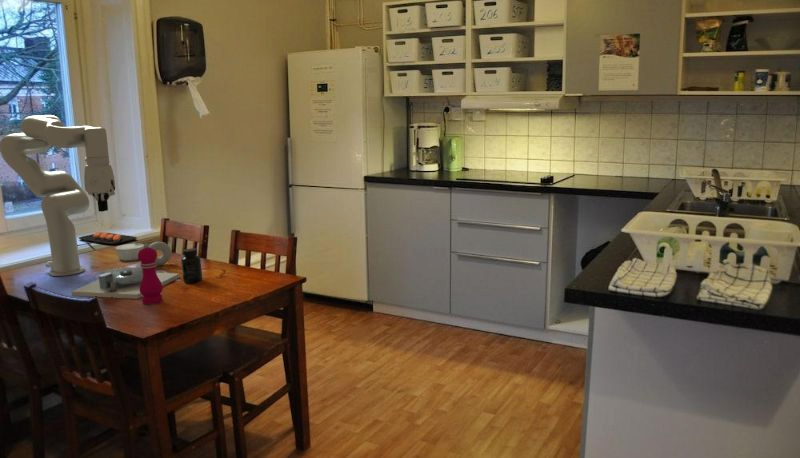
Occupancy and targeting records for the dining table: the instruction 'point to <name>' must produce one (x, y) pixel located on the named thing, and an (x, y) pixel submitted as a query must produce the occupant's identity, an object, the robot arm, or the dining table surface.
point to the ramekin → (129, 251)
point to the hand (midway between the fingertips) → (103, 210)
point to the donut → (165, 252)
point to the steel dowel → (112, 286)
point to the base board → (120, 288)
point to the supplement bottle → (191, 266)
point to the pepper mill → (149, 276)
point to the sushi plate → (106, 238)
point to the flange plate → (121, 277)
